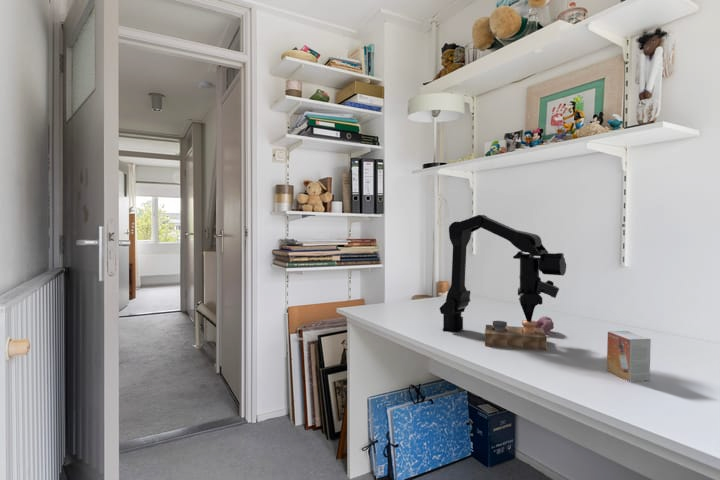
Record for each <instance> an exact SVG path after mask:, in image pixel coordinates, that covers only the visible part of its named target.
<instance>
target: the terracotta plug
mask: <svg viewBox="0 0 720 480" xmlns="http://www.w3.org/2000/svg"><path fill="white" fill-rule="evenodd" d="M521 325H522V327H523V333H531V334H535V326H537V322H536V321H535V320H531V322H527V319H524V320H521Z"/></svg>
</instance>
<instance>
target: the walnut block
mask: <svg viewBox="0 0 720 480" xmlns="http://www.w3.org/2000/svg"><path fill="white" fill-rule="evenodd" d="M547 338H548V337H547V334H545V333H544V330H543V328H535V334H531V333H523V326H512V325H511V326H510V325H507V326H506V332H502V331H494V326H493V324H486V325H485V329H484V346H485V347H496V348H497V347H499V348H509V349H510V348H511V349H522V350H532V351H533V350H535V351H547V349H548V347H547V346H548V345H547V343H548V341H547Z"/></svg>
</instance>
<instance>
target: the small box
mask: <svg viewBox="0 0 720 480" xmlns="http://www.w3.org/2000/svg"><path fill="white" fill-rule="evenodd" d="M651 341H652V339H651V338H649V337H646V336H645V337H644V336H643V335H639V334H636V333H634V332H630V331H628V330H613V331H612V330H610V331H609V330H608V331H607V347H606V350H607V351H606V354H607V355H606V371H607V372H609V373H612V374H614V375H615V376H618V377H619V378H621V379H623V380H624V379H625V381H626V380H627V381H626V382H628V381H629V382H628V383H631V382H630V381H637V382H645V381H644V380H651V379H650V375H651V346H652V345H651Z"/></svg>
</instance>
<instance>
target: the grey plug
mask: <svg viewBox="0 0 720 480" xmlns="http://www.w3.org/2000/svg"><path fill="white" fill-rule="evenodd" d="M492 325H493V326H494V331H502V332H506V326H508V323H507V321H504V320H492Z"/></svg>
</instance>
